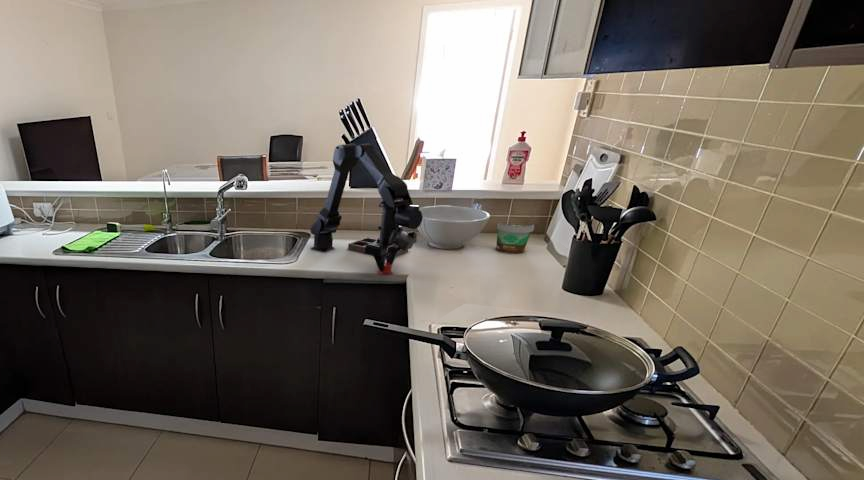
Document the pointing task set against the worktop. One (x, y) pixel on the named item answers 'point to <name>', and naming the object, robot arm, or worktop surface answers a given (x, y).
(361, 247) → the grid
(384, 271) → the red short cylinder
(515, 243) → the food container
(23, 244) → the worktop surface
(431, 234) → the decorative bowl
